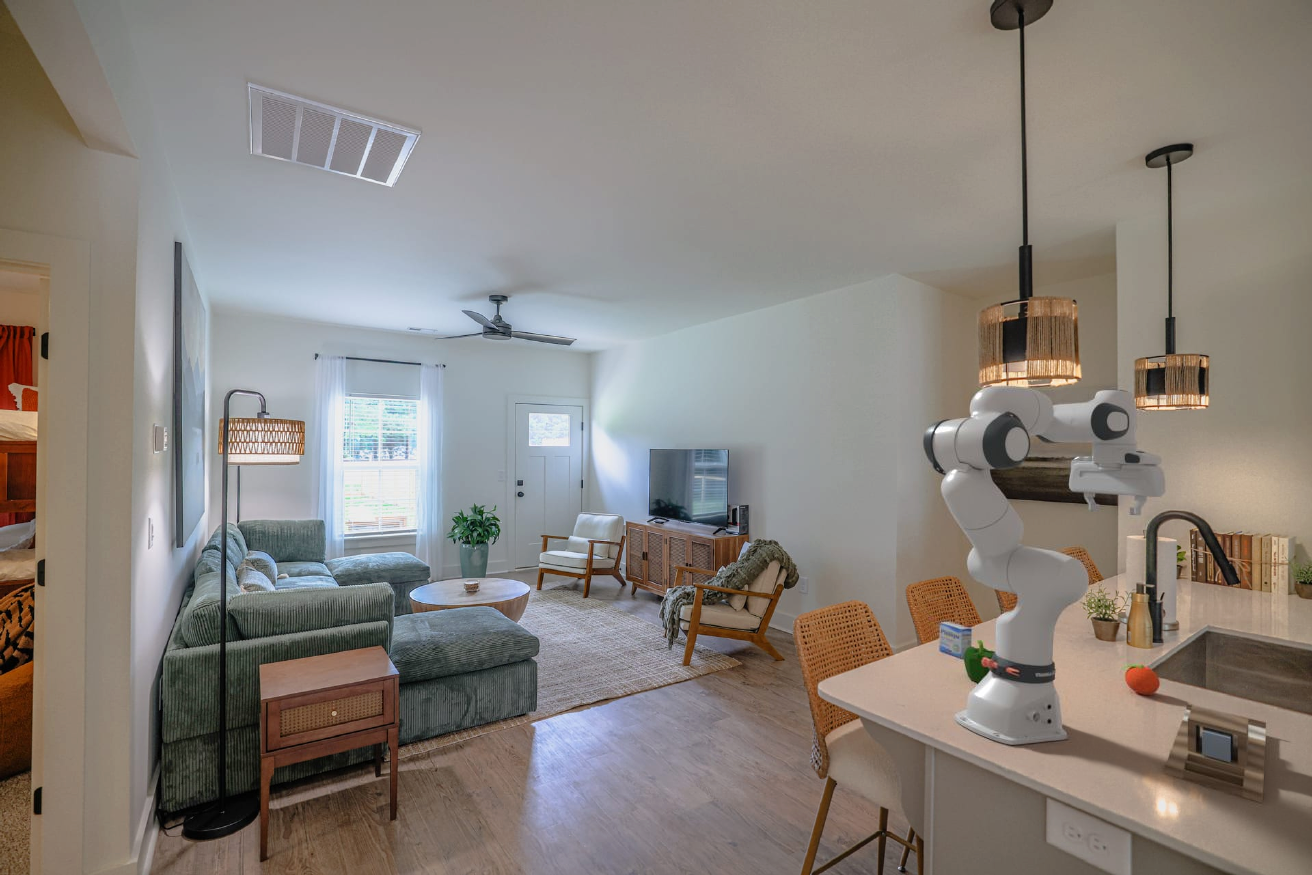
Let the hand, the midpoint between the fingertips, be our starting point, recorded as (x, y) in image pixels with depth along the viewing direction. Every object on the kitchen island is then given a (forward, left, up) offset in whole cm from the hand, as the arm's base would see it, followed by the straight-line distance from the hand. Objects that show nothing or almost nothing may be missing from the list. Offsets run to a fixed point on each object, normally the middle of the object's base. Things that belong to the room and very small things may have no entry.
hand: (1114, 513), depth 149 cm
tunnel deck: (-7, -24, -46) cm, 52 cm away
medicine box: (-5, +40, -46) cm, 62 cm away
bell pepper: (-17, +22, -46) cm, 54 cm away
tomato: (+14, +1, -46) cm, 48 cm away
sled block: (-8, -24, -44) cm, 51 cm away
